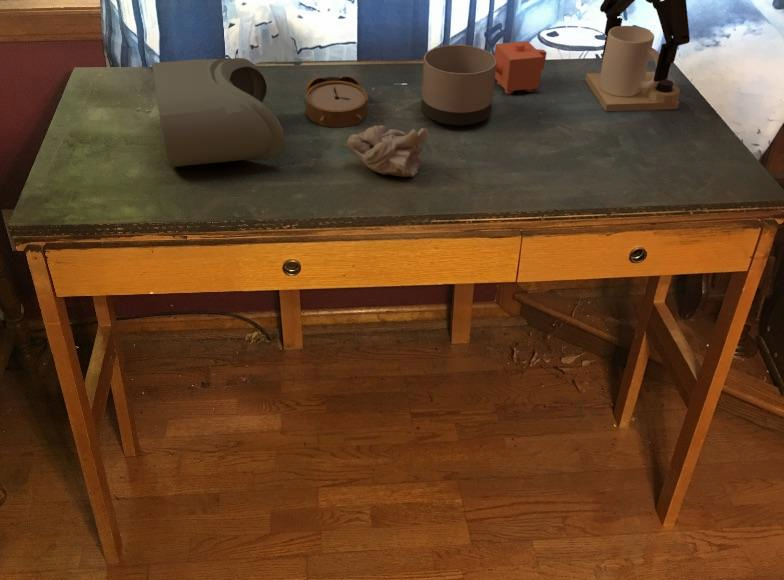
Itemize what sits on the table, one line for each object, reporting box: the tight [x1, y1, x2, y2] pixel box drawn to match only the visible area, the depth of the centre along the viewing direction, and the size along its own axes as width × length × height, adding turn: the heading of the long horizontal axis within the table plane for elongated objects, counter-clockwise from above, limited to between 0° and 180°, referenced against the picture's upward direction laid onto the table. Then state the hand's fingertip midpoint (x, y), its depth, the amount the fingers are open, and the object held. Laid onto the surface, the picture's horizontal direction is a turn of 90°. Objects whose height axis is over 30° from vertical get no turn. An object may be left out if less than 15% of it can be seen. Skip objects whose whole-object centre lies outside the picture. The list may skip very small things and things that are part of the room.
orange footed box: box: [493, 40, 547, 94], centre depth 165 cm, size 8×12×8 cm, turn 105°
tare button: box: [656, 79, 674, 93], centre depth 161 cm, size 3×3×2 cm
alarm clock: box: [305, 75, 368, 128], centre depth 158 cm, size 11×5×15 cm
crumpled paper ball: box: [346, 124, 429, 178], centre depth 140 cm, size 8×10×12 cm
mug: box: [599, 25, 660, 97], centre depth 160 cm, size 12×8×10 cm
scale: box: [584, 71, 681, 112], centre depth 165 cm, size 14×14×3 cm
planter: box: [420, 44, 497, 127], centre depth 154 cm, size 13×13×10 cm
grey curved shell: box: [151, 57, 286, 168], centre depth 143 cm, size 22×19×13 cm
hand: (633, 67), depth 160 cm, fingers open, 13 cm apart
